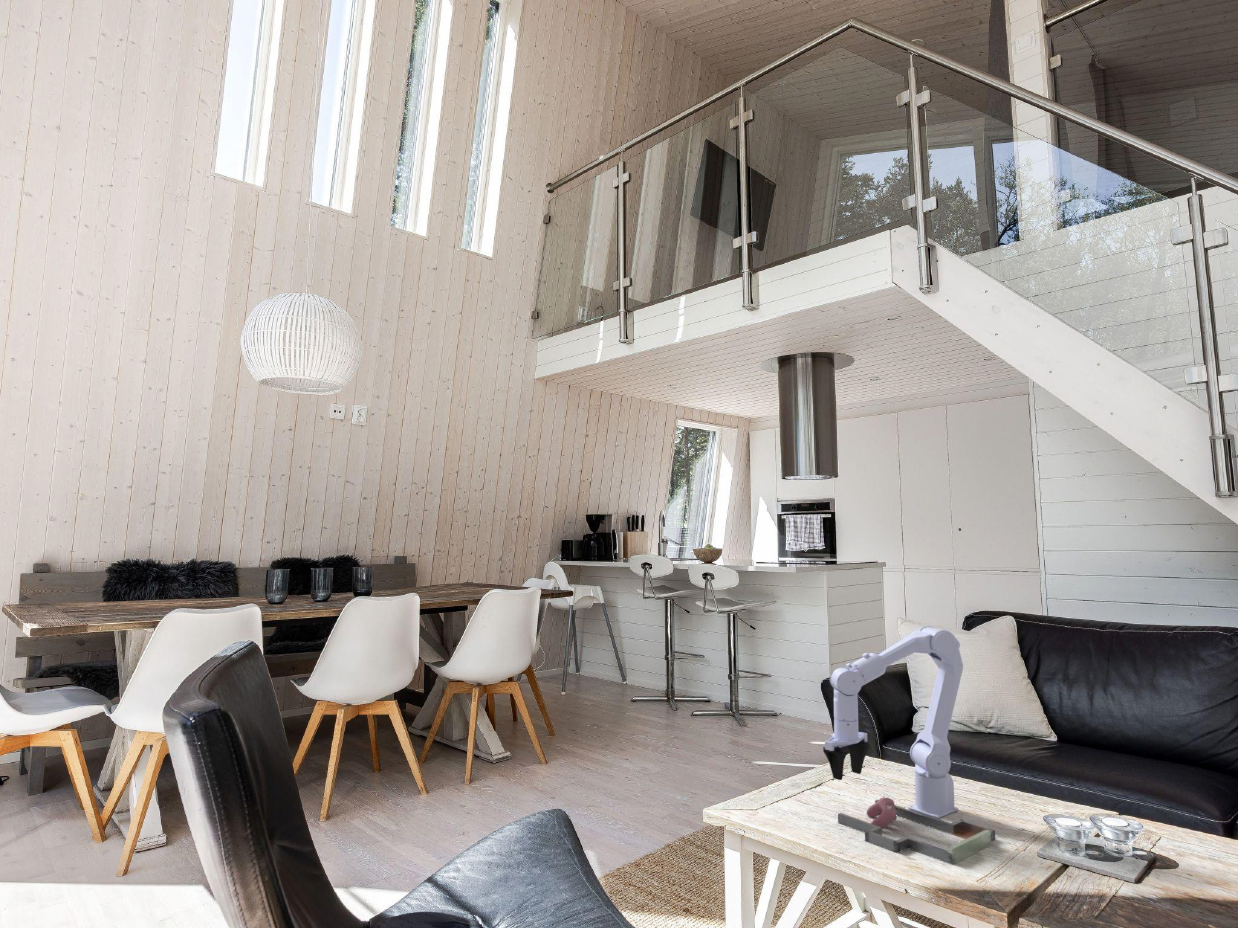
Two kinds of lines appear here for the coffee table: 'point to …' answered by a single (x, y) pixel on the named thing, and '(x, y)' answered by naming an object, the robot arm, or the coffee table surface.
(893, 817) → the video game controller
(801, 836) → the coffee table surface
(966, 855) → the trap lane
